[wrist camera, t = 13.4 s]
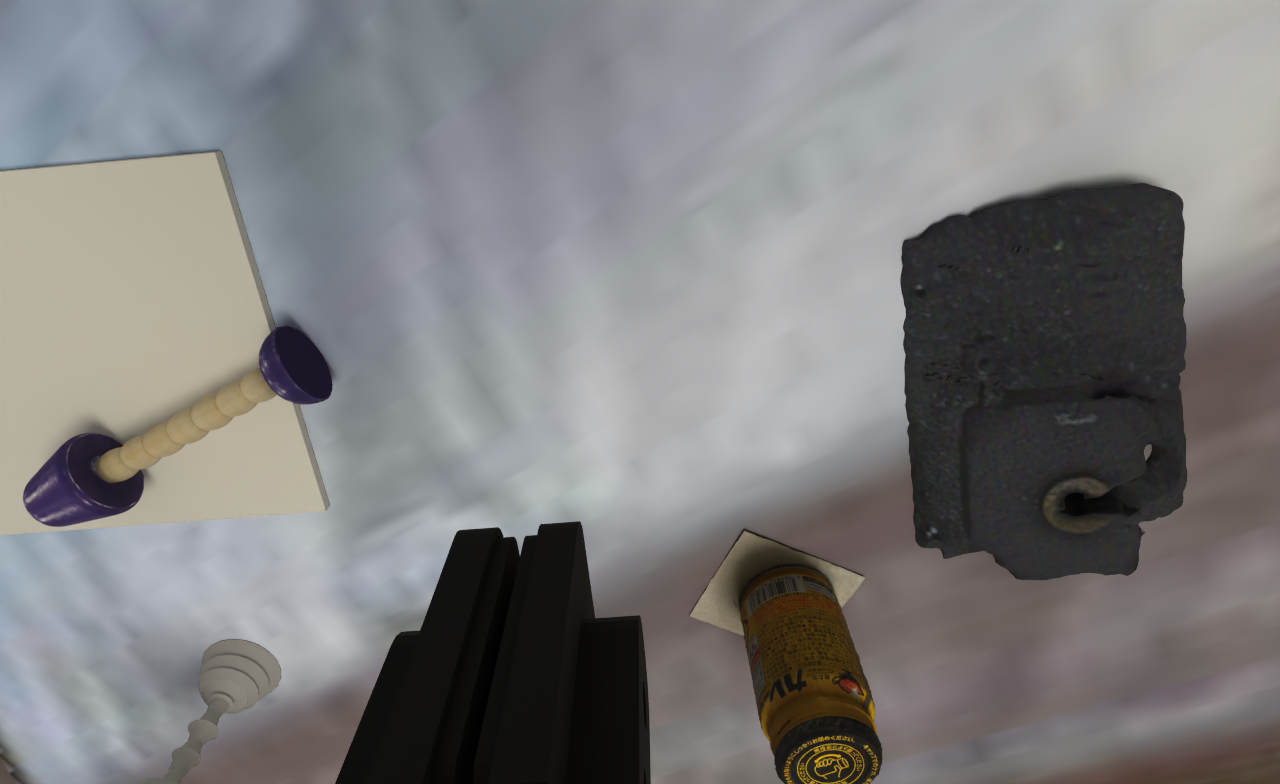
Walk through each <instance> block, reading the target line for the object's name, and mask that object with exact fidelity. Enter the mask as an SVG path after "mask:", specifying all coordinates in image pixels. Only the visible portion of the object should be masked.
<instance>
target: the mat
mask: <svg viewBox="0 0 1280 784" xmlns="http://www.w3.org/2000/svg"><path fill="white" fill-rule="evenodd" d="M275 329H276V328H275V325H274V321H273V318H272V315H271V312H270V308H269V305H268V302H267V299H266V295H265V292H264V289H263V286H262V282H261V279H260V276H259V272H258V269H257V266H256V263H255V259H254V256H253V253H252V250H251V246H250V243H249V240H248V236H247V233H246V230H245V227H244V223H243V220H242V217H241V214H240V210H239V207H238V204H237V200H236V197H235V194H234V191H233V187H232V184H231V181H230V178H229V174H228V171H227V168H226V164H225V161H224V158H223V155H222V151H214V152H203V153H192V154H181V155H170V156H159V157H147V158H136V159H125V160H114V161H103V162H92V163H81V164H70V165H58V166H47V167H36V168H25V169H14V170H3V171H0V535H12V534H25V533H39V532H52V531H66V530H79V529H93V528H106V527H120V526H133V525H146V524H160V523H173V522H187V521H200V520H214V519H227V518H241V517H254V516H268V515H281V514H294V513H308V512H321V511H326V510H327V509H328V507H329V506H330V505H329V501H328V498H327V495H326V492H325V488H324V485H323V482H322V479H321V475H320V472H319V469H318V465H317V462H316V459H315V456H314V452H313V449H312V446H311V443H310V439H309V436H308V433H307V429H306V426H305V423H304V420H303V416H302V413H301V410H300V407H299V404H296V403H292V402H289V401H287V400H285V399H283V398H281V397H280V396H278V395H276V396H275V397H274V398H272V399H270V400H268V401H265V402H260V403H258V404H257V405H256V406H255V407H254V408H253V409H252V410H251V411H249V412H248V413H246V414H243V415H240V416H236V417H233V419H232V420H231V421H230V422H229V423H228V424H227V425H225V426H223V427H221V428H219V429H216V430H210V432H209V433H208V434H207V435H206V436H205V437H203V438H202V439H200V440H199V441H196V442H194V443H190V444H186V445H185V446H184V447H183V448H182V449H181V450H179V451H178V452H176V453H174V454H172V455H170V456H166V457H162V458H161V460H159V461H158V462H157V463H156V464H154V465H153V466H151V467H149V468H145V469H141V471H142V473H143V475H144V490H143V493H142V496H141V498H140V500H139V501H138V503H137V504H136V505H135V506H134V507H133V508H131V509H130V510H128V511H126V512H124V513H121V514H118V515H114V516H110V517H105V518H101V519H97V520H92V521H88V522H83V523H79V524H75V525H70V526H64V527H52V526H47V525H45V524H42V523H40V522H39V521H37V520H36V519H34V518H33V517H32V516H31V515H30V514H29V513H28V511H27V509H26V508H25V505H24V502H23V492H24V489H25V486H26V485H27V483H28V482H29V480H30V479H31V478H32V477H33V476H34V475H35V474H36V473H37V471H38V470H39V469H40V468H41V467H42V466H43V465H44V464H45V462H46V461H47V460H48V459H49V458H50V457H51V456H52V455H53V454H54V453H55V452H56V451H57V450H58V449H59V448H60V447H61V446H62V445H63V444H64V443H65V442H66V441H68V440H69V439H71V438H72V437H74V436H77V435H79V434H85V433H96V434H102V435H105V436H108V437H111V438H113V439H114V440H116V441H118V442H119V443H121V444H122V445H124V444H125V443H126V442H127V441H129V440H130V439H132V438H134V437H136V436H140V435H145V434H146V433H147V432H148V431H149V430H150V429H151V428H152V427H154V426H156V425H158V424H160V423H163V422H169V420H170V419H171V418H172V417H173V416H174V415H175V414H177V413H178V412H180V411H182V410H184V409H188V408H193V407H194V405H195V404H196V403H197V402H198V401H199V400H201V399H202V398H204V397H206V396H209V395H212V394H218V392H219V391H220V390H221V389H222V388H223V387H224V386H226V385H227V384H229V383H231V382H234V381H238V380H242V379H243V378H244V376H245V375H246V374H248V373H249V372H250V371H252V370H254V369H256V368H259V367H260V366H259V351H260V348H261V346H262V344H263V342H264V340H265V338H266V337H267V336H268V335H269V334H270V333H271V332H272V331H273V330H275Z"/></svg>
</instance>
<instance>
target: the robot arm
mask: <svg viewBox="0 0 1280 784" xmlns="http://www.w3.org/2000/svg"><path fill="white" fill-rule="evenodd" d="M335 784H651V781H650V730H649V702H648V684H647V671H646V660H645V650H644V640H643V631H642V623H641V617H640V615H639V616H624V617H610V618H595V614H594V607H593V600H592V592H591V585H590V578H589V571H588V564H587V557H586V550H585V542H584V535H583V529H582V525H581V523H580V521H579V522H566V523H552V524H541V525H540V526H539V529H538V534H537V535H533V536H526V537H525V538H524V542H523V546H522V551H521V555H519V550H518V545H517V541H516V539H515V538H514V537H505V538H503V534H502V532H501V530H500V529H499V528H498V527H497V528H484V529H470V530H459V531H458V532H457V533H456V535H455V537H454V540H453V543H452V545H451V548H450V551H449V554H448V556H447V559H446V562H445V564H444V567H443V570H442V573H441V575H440V578H439V581H438V584H437V586H436V589H435V592H434V595H433V597H432V600H431V603H430V606H429V608H428V611H427V614H426V616H425V619H424V622H423V625H422V627H421V630H420V631H407V632H401V633H400V634H398V635H397V636H396V637H395V639H394V641H393V643H392V645H391V647H390V649H389V652H388V654H387V657H386V659H385V662H384V664H383V667H382V669H381V672H380V674H379V677H378V679H377V682H376V684H375V687H374V689H373V691H372V694H371V696H370V699H369V701H368V704H367V706H366V709H365V711H364V714H363V716H362V719H361V721H360V724H359V726H358V729H357V731H356V733H355V736H354V738H353V741H352V743H351V746H350V748H349V751H348V753H347V756H346V758H345V761H344V763H343V766H342V768H341V771H340V773H339V775H338V778H337V780H336V783H335Z"/></svg>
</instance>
